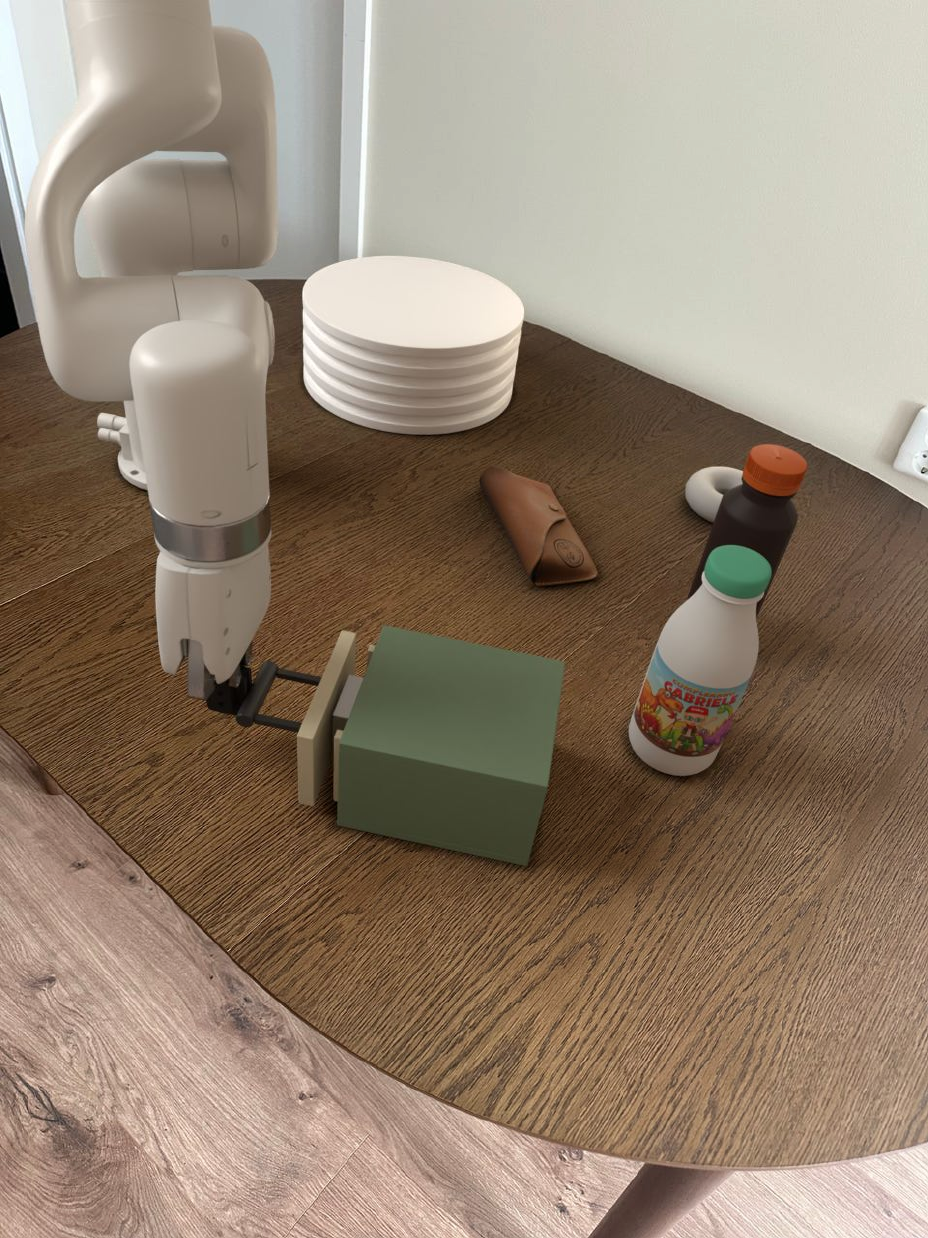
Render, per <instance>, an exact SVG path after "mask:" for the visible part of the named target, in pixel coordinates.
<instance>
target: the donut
mask: <svg viewBox="0 0 928 1238" xmlns="http://www.w3.org/2000/svg"><path fill="white" fill-rule="evenodd" d="M742 473H743V470H741V469H738V468H734V467H729V466H709V467H705V468H704V467H703V468H701V469H699V470H698V471H696V472H695V473H693V474H692V475H691V476H690V477H689V479H688V480H687V482H686V484H685V493H684V494H685V495H684V496H685V499H686V501H687V504H688V505H689V507H690V508H691V509H692V511H694V512H695V514H697V515H698V516H699V517H701V518H702V519H704V520H706V521H707V522H708V523H709V522H710V523H712V524H713V523H714V520H715V517H716V514H717V511H718V509H719V506H720V503H721V500H722V497H723V495H724V494H725V493H726V492H727V491H729V490H730V489H731V488H734V487H736V486H738V485H741V484H743V483H742V480H741V478H742Z"/></svg>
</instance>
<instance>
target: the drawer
mask: <svg viewBox="0 0 928 1238" xmlns="http://www.w3.org/2000/svg"><path fill="white" fill-rule="evenodd" d="M334 645H335V646H334V648H333V650H332V652H331V654H330V657H329V659H328V662H327V663H326V666H325V669H324V670H323V673H322V676H319V675H314V674H309V673H305V672H300V671H296V670H289V669H285V668H281V667H279V665H278V664H277V663H276V662H275V661H272V660H266V661H263V662H262V663H261V665H260V668H259V670H258V672H257V674H256V675H255V678H254V680H253V681H252V685H251V687H250V689H249V691H248V693H247V695H246V697H245V699H244V701H243V703H242V705H241V707H240V709H239V711H238V713H237V715H236V716H235V722H236V724H238V725H239V726H240V727H242V728H251V727H252V726H253V725H254V724H255V725H259V726H264V727H267V728H268V727H269V728H273V729H277V730H282V731H287V732H291V733H292V732H293V733H296V750H297V751H296V755H297V757H296V758H297V784H298V785H297V788H298V791H297V792H298V795H297V796H298V804H300V805H305V806H309V807H315V804H316V802H317V799H318V796H319V794H320V791H321V788H322V786H323V783H324V780H325V778H326V775H327V774H328V773H327V772H328V770H329V768H330V764H331V763H332V716H333V712H334V710H335V707H336V705H337V702H338V700H339V697H340V695H341V692H342V690H343V687H344V685H345V682H346V680H347V677H348V675H354V676H356V653H357V651H356V649H357V632H352V631H349V630H348V631H347V630H343V629H342V630H341V631H340V634H339V635H338V638H337V640H336V642H335V644H334ZM375 646H376V644H369V646H368V649H367V655H366V658H367V659H366V660H367V661H366V668H367V667H368V665H369V662H370V659H371V657H372V654H373V651H374V649H375ZM276 679H280V680H285V681H290V682H294V683H300V684H305V685H308V686H309V685H310V686H315V687H316V690H315V692H314V695H313V697H312V699H311V701H310V703H309V706H308V708H307V711H306V713H305V714H304V715H305V716H304V718H303V720H302V722H300V721H295V720H290V719H285V718H281V717H277V716H271V715H266V714H261V713H260V711H261V709H262V707H263V706H264V702H265V700H266V699H267V697H268V694H269V692H270V691H271V688H272V686H273V684H274V681H275V680H276ZM342 734H343V731H342V730H337V732H336V734H335V737H334V763H333V788H332V789H333V793H332V794H333V795H332V796H333V798H332V799H333V801H335V802H338V765H339V742H340V739H341V736H342Z"/></svg>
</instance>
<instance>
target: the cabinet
mask: <svg viewBox="0 0 928 1238" xmlns="http://www.w3.org/2000/svg"><path fill="white" fill-rule="evenodd" d="M375 645H376V646H375V649H374V651H373V654H372V657H371V659H370V662H369V665H368V667H367V666H366V670H365V673H364V675H363V681H362V683H361V686H360V689H359V691H358V694H357V697H356V699H355V702H354V705H353V707H352V710H351V713H350V715H349V718H348V720H347V723H346V726H345V728H344V731H343V734H342V736H341V739H340V742H339V765H338V801H337V818H336V819H337V820H336V821H337V824H336V825H337V826H338V827H342V828H348V829H352V830H357V831H362V832H366V833H370V834H375V835H380V836H384V837H389V838H394V839H399V840H403V841H408V842H412V843H417V844H421V845H425V846H430V847H435V848H440V849H445V850H449V851H453V852H459V853H463V854H467V855H473V856H478V857H482V858H487V859H490V860H495V861H499V862H504V863H509V864H515V865H520V866H524V867H527V866H528V864H529V861H530V858H531V857H530V856H531V852H532V848H533V845H534V842H535V837H536V834H537V831H538V830H537V829H538V826H539V824H540V820H541V815H542V812H543V808H544V804H545V801H546V796H547V792H548V788H549V784H550V775H551V769H552V762H553V761H552V760H553V756H554V755H553V754H554V747H555V740H556V733H557V726H558V718H559V711H560V703H561V697H562V690H563V683H564V675H565V668H566V667H565V666H566V661H564V660H559V659H555V658H551V657H550V658H549V657H545V656H544V657H543V656H540V655H534V654H531V653H526V652H520V651H514V650H510V649H505V648H500V647H495V646H490V645H485V644H480V643H476V642H470V641H466V640H461V639H460V640H459V639H455V638H451V637H450V638H449V637H445V636H440V635H434V634H430V633H425V632H419V631H415V630H409V629H405V628H400V627H395V626H390V625H382V627H381V630H380V633H379V635H378V638H377V640H376V644H375Z"/></svg>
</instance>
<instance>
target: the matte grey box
mask: <svg viewBox="0 0 928 1238" xmlns="http://www.w3.org/2000/svg"><path fill="white" fill-rule="evenodd" d="M363 678H364V676H358V675H355V676H354V675H348V677H347V680H346V682H345V685H344V687H343V690H342V692H341V695H340V697H339V700H338V702H337V705H336V707H335V710H334V712H333V716H332V759H331V763H332V764H334V737H335V734H336V732H337V730H342V731H344V728H345V726H346V723H347V720H348V718H349V715H350V713H351V710H352V707H353V705H354V702H355V699H356V697H357V694H358V691H359V689H360V686H361V683H362V681H363Z"/></svg>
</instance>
